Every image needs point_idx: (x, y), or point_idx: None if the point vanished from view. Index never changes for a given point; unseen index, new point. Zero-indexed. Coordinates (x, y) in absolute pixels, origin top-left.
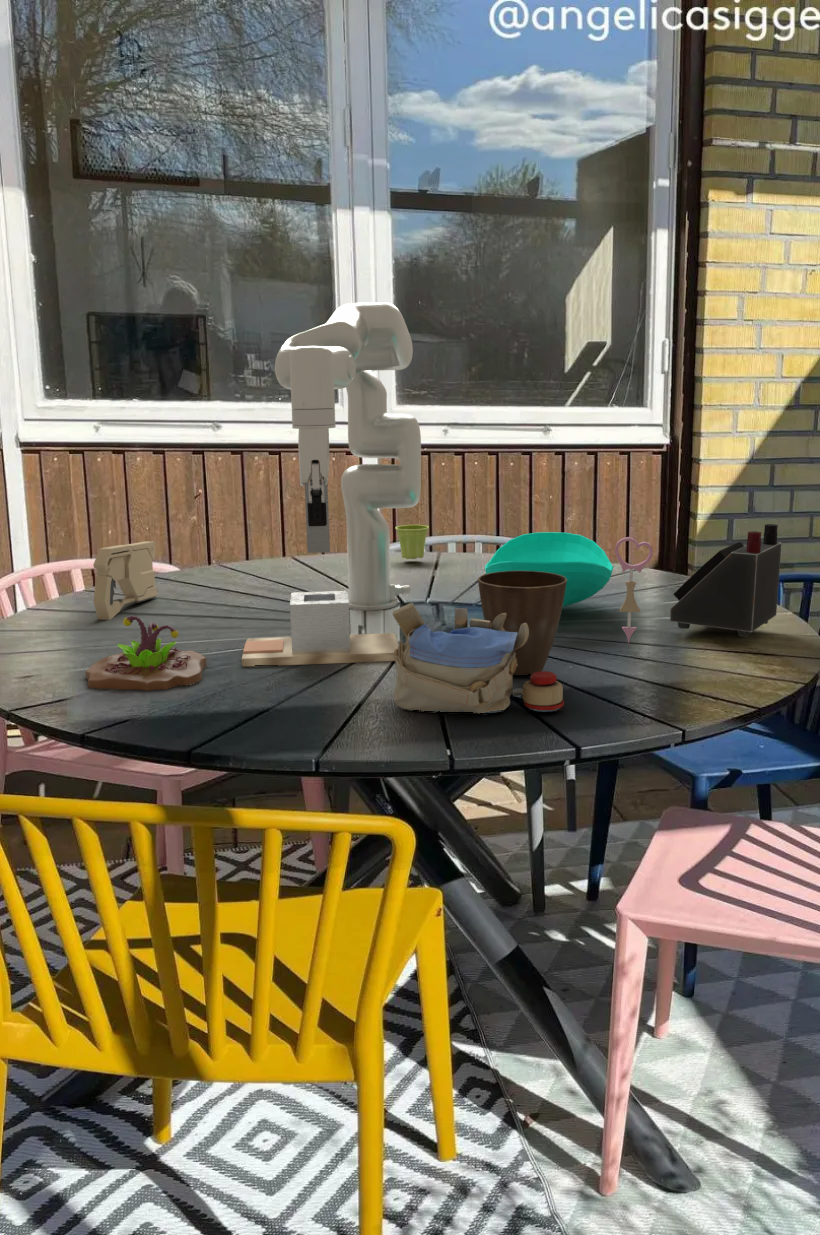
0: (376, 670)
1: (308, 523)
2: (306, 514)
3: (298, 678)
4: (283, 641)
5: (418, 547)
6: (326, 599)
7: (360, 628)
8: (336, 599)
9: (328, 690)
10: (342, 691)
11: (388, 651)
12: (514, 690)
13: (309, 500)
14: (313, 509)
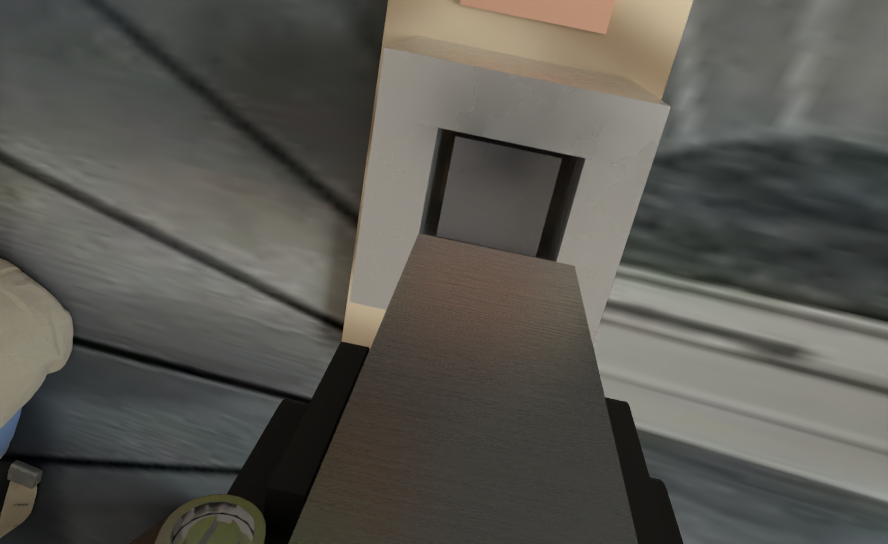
0: (268, 262)
1: (338, 348)
2: (353, 390)
3: (233, 21)
4: (581, 28)
5: None
6: (556, 248)
7: (765, 345)
8: None
9: (102, 89)
10: (90, 126)
11: (359, 332)
12: (23, 473)
13: (163, 532)
14: (238, 482)
